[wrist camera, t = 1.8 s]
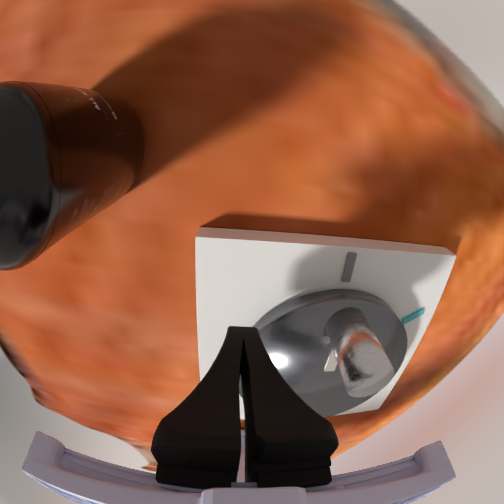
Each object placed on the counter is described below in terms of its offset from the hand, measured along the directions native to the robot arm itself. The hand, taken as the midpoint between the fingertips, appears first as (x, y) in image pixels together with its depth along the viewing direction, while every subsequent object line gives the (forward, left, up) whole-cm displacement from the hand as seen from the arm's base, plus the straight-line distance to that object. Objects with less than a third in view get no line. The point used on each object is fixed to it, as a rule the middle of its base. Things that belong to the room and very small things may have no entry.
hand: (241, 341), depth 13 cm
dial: (-5, -6, -3) cm, 8 cm away
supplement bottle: (+8, +9, -5) cm, 13 cm away
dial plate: (-5, -6, -5) cm, 9 cm away
